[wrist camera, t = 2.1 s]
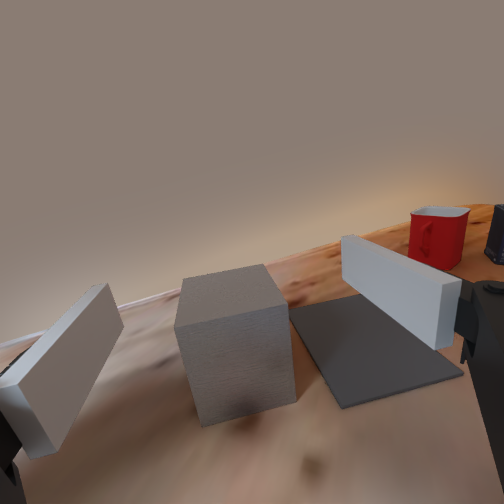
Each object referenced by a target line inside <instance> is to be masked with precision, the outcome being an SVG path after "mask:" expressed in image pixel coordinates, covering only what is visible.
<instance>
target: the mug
mask: <svg viewBox="0 0 504 504" xmlns="http://www.w3.org/2000/svg"><path fill="white" fill-rule="evenodd" d="M470 210H471V209H470V208H462V207H440V206H426V207H421V208H419V209H417V210H415V211H413V212H411V213H410V214H411V227H410V238H409V249H408V258H411V259H413V260H416V261H418V262H421V263H426V264H428V265H431V266H433V267H435V268H436V269H440V270H449V269H452V268H453V267H454V266H455V265H456V264H457V263H459V262H460V261H461V255H462V249H463V243H464V238H465V232H466V226H467V220H468V215H469V212H470Z"/></svg>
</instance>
